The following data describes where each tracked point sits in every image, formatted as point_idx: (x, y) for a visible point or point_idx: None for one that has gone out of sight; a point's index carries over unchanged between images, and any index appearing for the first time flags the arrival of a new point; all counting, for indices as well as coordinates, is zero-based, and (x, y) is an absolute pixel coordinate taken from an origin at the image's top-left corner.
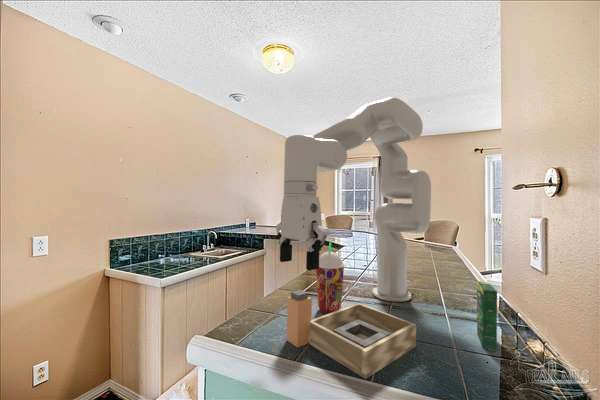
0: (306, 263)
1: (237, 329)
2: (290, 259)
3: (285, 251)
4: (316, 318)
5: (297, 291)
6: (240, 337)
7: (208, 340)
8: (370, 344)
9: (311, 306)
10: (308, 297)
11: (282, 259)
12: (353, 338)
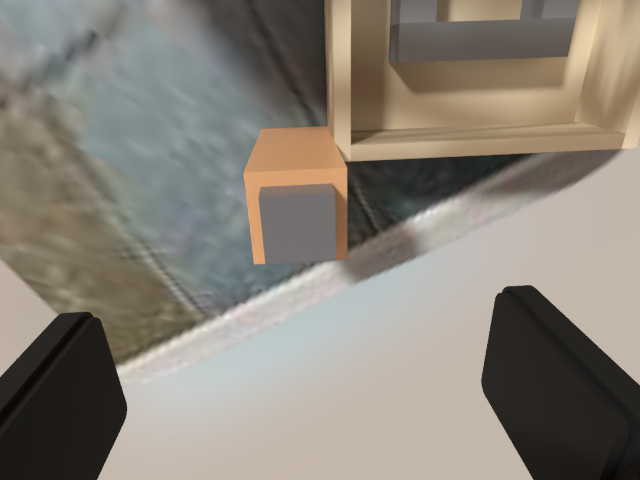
0: (505, 427)
1: (108, 287)
2: (98, 336)
3: (65, 474)
4: (337, 112)
5: (278, 229)
6: (169, 298)
7: (143, 369)
8: (573, 20)
9: (341, 156)
10: (327, 176)
11: (118, 426)
12: (502, 45)
